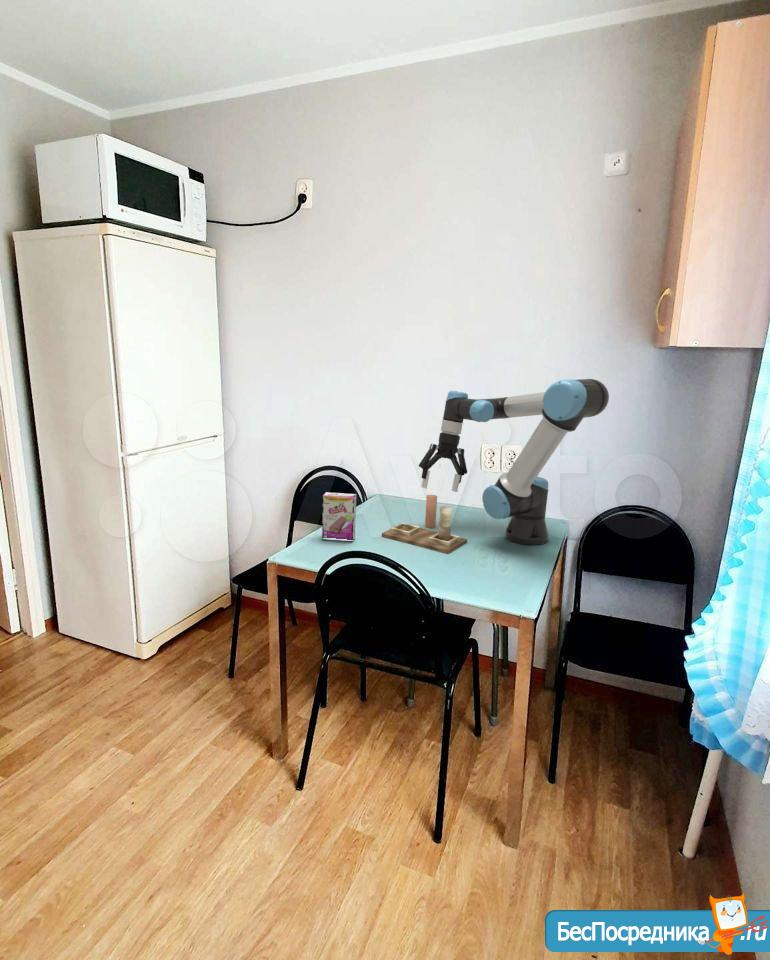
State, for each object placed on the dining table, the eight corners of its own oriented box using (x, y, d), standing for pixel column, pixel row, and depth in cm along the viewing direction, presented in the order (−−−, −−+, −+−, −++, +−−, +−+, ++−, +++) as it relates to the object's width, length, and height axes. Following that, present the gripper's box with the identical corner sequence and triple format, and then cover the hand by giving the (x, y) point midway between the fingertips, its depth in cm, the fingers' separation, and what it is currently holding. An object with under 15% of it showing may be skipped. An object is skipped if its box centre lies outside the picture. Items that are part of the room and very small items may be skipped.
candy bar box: (321, 540, 195) (321, 495, 191) (324, 536, 200) (324, 491, 196) (353, 542, 194) (354, 497, 190) (355, 537, 199) (356, 493, 195)
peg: (437, 526, 214) (439, 495, 211) (432, 528, 211) (433, 498, 208) (428, 524, 216) (429, 494, 213) (423, 526, 213) (424, 496, 210)
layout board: (467, 542, 198) (469, 506, 194) (448, 553, 186) (450, 516, 183) (402, 526, 212) (404, 493, 209) (381, 536, 201) (382, 501, 198)
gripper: (471, 437, 215) (461, 490, 218) (416, 427, 204) (405, 484, 206) (483, 439, 209) (472, 494, 211) (426, 429, 197) (415, 488, 200)
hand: (439, 489), depth 209 cm, fingers open, 13 cm apart
